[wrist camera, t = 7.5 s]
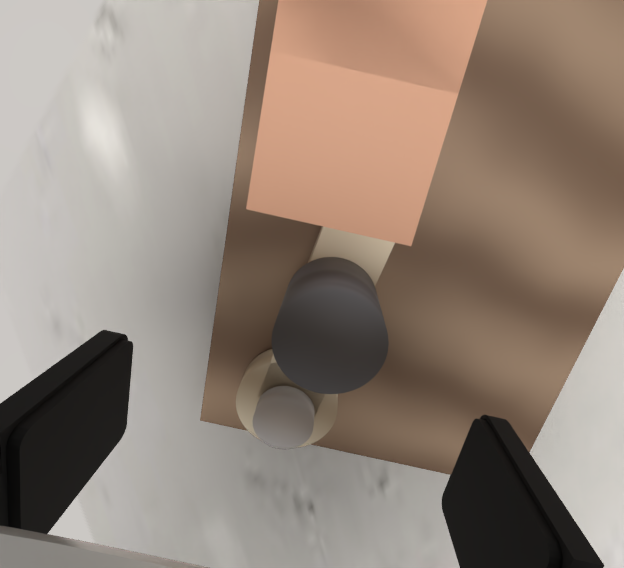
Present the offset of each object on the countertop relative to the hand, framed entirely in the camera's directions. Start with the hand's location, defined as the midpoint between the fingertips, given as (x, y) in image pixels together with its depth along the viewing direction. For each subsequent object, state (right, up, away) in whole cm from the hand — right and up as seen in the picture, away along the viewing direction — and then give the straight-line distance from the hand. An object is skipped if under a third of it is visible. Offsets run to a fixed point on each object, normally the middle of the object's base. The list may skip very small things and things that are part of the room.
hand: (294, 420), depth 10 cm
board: (+6, +5, +9) cm, 12 cm away
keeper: (+2, +11, +6) cm, 12 cm away
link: (+1, +2, +9) cm, 9 cm away
